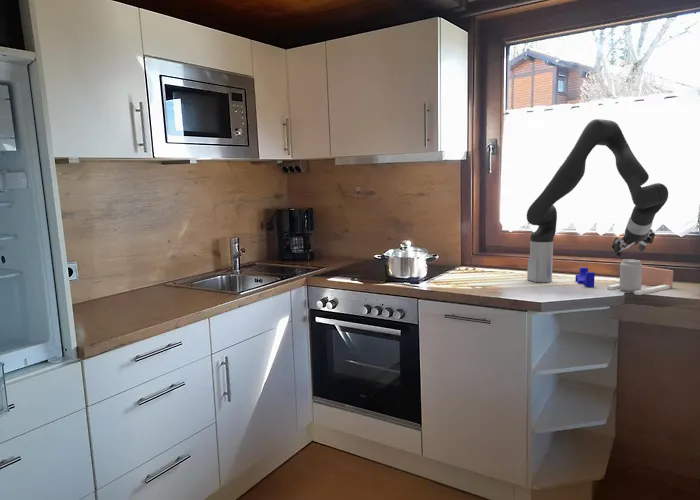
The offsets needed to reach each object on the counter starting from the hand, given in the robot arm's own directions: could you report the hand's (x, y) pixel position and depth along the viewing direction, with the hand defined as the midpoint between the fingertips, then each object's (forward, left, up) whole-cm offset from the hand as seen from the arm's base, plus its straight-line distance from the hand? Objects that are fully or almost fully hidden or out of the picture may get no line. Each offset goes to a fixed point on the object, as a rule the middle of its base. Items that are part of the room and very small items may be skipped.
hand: (629, 252), depth 200 cm
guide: (+8, +2, -15) cm, 17 cm away
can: (+2, 0, -15) cm, 16 cm away
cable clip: (-6, +17, -16) cm, 24 cm away
